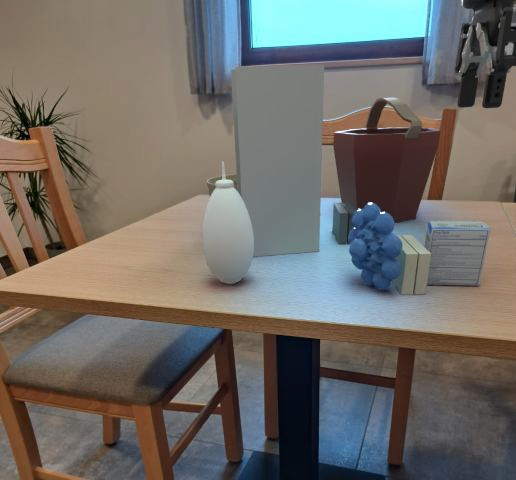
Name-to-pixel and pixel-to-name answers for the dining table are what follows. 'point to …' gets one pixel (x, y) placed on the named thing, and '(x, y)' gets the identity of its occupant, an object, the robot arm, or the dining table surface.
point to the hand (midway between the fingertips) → (477, 107)
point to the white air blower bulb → (227, 233)
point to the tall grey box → (280, 154)
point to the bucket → (386, 162)
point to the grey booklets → (342, 221)
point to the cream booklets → (412, 267)
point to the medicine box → (456, 252)
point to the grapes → (375, 246)
